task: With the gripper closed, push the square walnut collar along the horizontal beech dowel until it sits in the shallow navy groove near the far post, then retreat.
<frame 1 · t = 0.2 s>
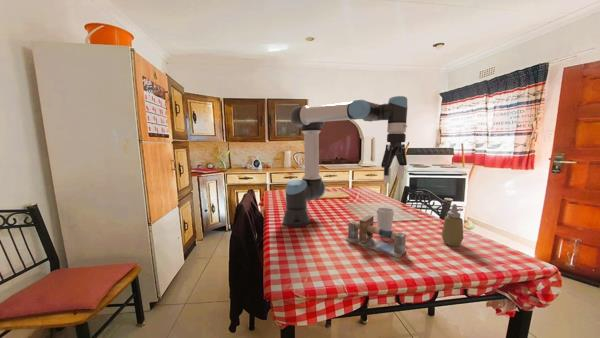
hand: (393, 181, 101), 28 cm above the table, fingers open, 13 cm apart
cup: (384, 233, 112), on the table
squeeze bottle: (451, 244, 100), on the table
rail: (374, 245, 98), on the table
collar: (365, 243, 101), resting on rail
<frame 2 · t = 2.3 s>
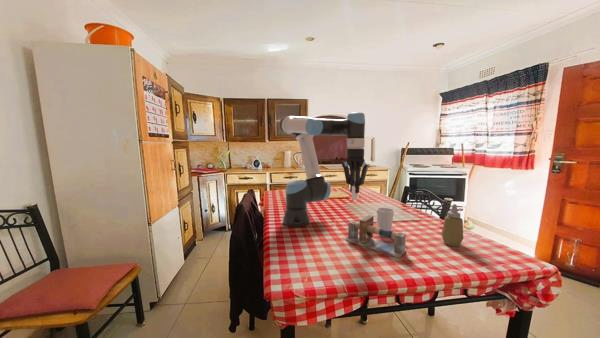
hand: (354, 199, 103), 19 cm above the table, fingers closed
nothing on the table moved.
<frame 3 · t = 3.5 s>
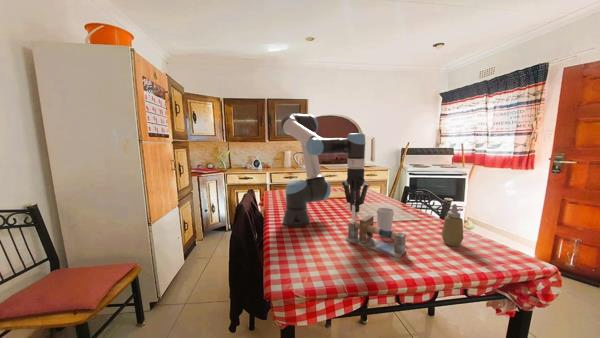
hand: (354, 218, 104), 10 cm above the table, fingers closed
nothing on the table moved.
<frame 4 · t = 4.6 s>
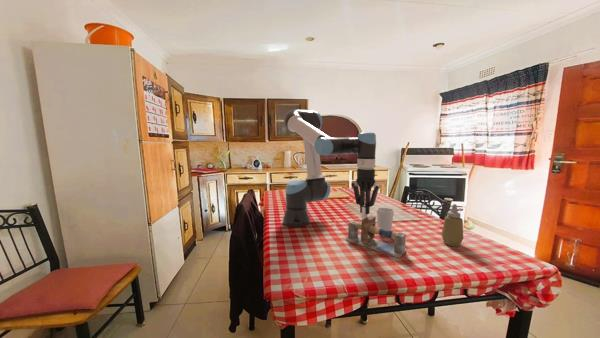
hand: (364, 220, 101), 10 cm above the table, fingers closed
collar: (367, 243, 101), resting on rail, touching gripper
everything else where it was.
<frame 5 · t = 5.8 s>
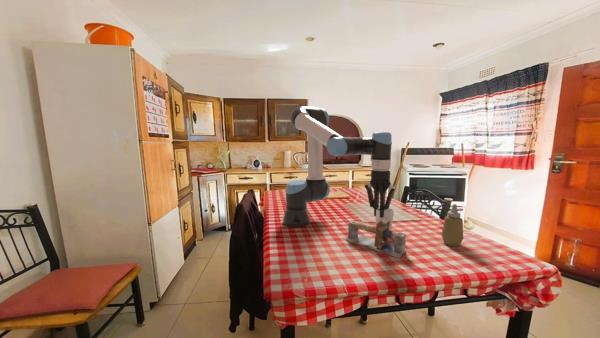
hand: (378, 224, 96), 10 cm above the table, fingers closed
collar: (380, 248, 96), resting on rail, touching gripper
everything else where it was.
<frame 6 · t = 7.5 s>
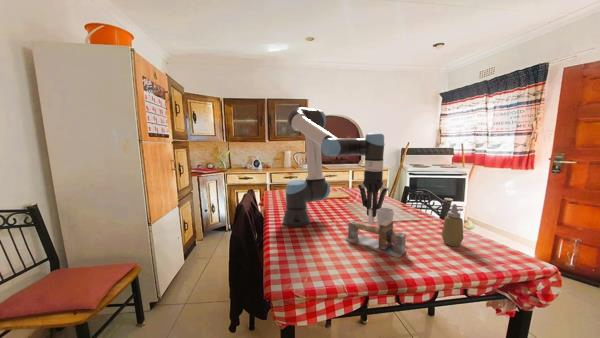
hand: (371, 223, 99), 10 cm above the table, fingers closed
collar: (385, 249, 95), resting on rail
everything else where it was.
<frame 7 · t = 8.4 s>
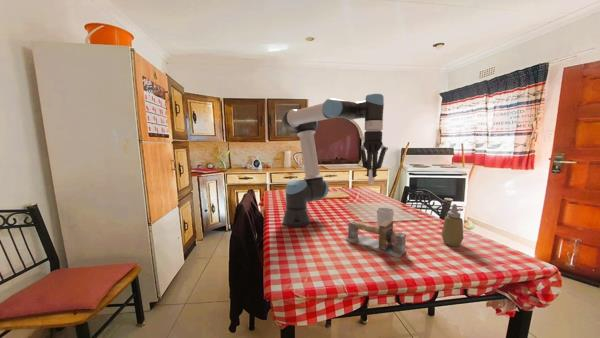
hand: (371, 183, 101), 26 cm above the table, fingers closed
nothing on the table moved.
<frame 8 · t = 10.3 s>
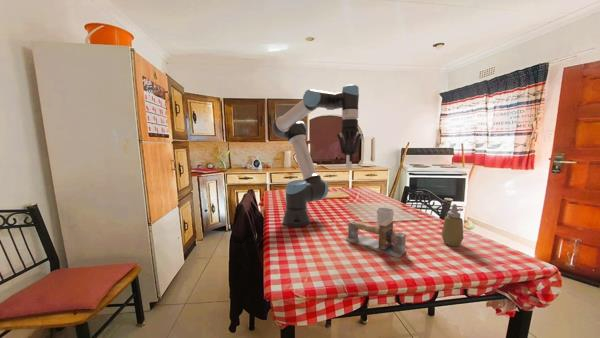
hand: (348, 168, 110), 32 cm above the table, fingers closed
nothing on the table moved.
at the end: collar 0.3 cm from the target spot on the rail, point 0.0 cm above the rail's base; collar moved 8.8 cm from its start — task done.
